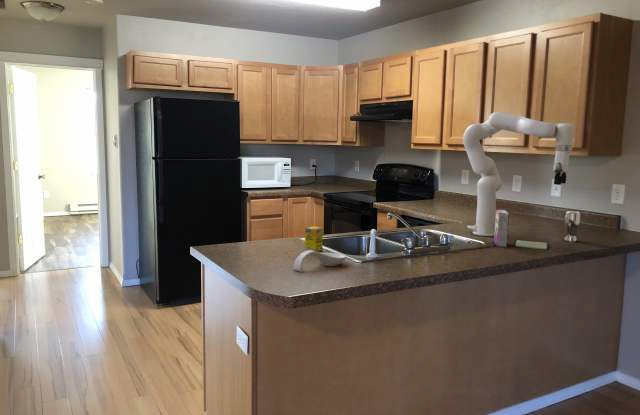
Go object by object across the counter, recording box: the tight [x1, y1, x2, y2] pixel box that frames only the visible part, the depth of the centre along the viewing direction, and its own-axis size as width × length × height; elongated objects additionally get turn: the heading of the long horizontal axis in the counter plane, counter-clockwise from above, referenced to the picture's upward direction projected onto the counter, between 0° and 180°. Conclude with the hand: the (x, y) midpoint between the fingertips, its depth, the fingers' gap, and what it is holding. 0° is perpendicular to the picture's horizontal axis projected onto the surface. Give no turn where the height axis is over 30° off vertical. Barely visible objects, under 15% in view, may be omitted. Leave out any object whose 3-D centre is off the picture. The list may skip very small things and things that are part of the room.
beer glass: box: [563, 210, 581, 243], centre depth 262 cm, size 7×7×15 cm
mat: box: [514, 239, 548, 250], centre depth 251 cm, size 14×14×1 cm
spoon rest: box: [293, 250, 347, 273], centre depth 202 cm, size 24×12×7 cm, turn 132°
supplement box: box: [304, 225, 324, 253], centre depth 227 cm, size 6×6×11 cm
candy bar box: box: [493, 209, 510, 248], centre depth 250 cm, size 11×5×16 cm, turn 168°
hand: (559, 183), depth 252 cm, fingers open, 9 cm apart
